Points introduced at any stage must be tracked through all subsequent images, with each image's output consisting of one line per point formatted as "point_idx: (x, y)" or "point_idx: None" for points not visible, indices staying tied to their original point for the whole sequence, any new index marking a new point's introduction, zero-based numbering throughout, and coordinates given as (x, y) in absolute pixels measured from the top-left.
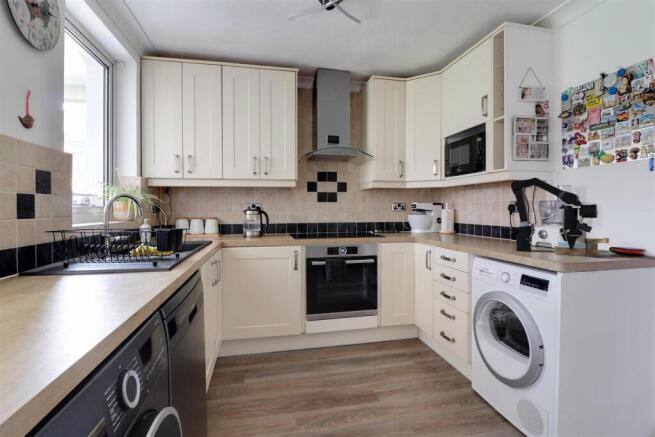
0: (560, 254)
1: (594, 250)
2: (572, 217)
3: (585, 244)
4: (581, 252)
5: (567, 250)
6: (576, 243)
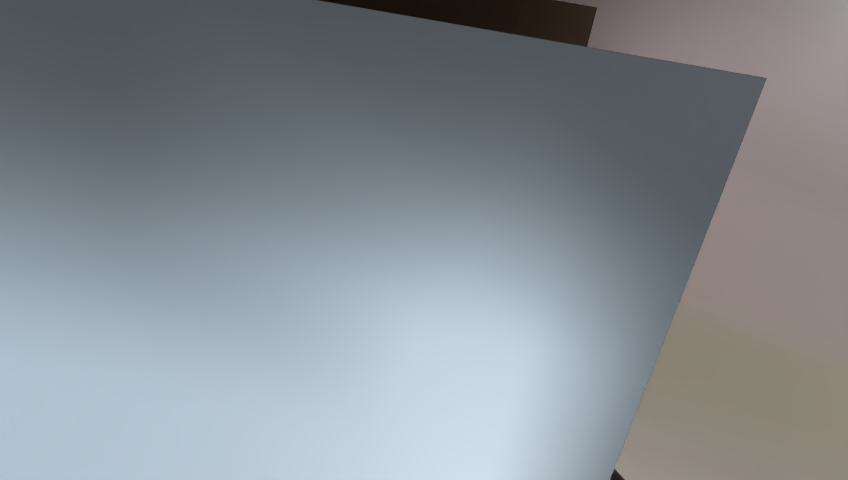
0: None
1: None
2: None
3: (714, 79)
4: None
5: None
6: (597, 465)
